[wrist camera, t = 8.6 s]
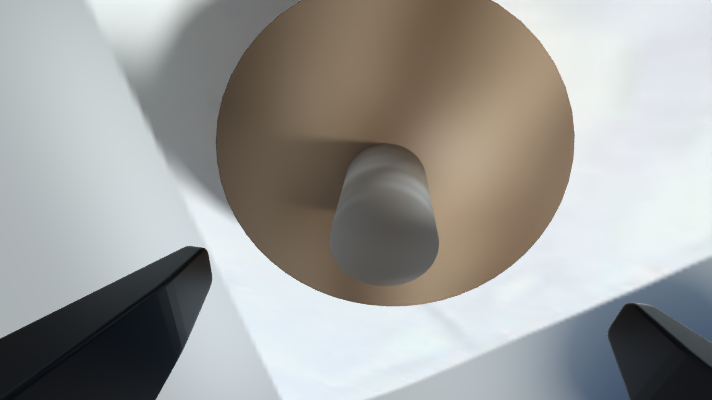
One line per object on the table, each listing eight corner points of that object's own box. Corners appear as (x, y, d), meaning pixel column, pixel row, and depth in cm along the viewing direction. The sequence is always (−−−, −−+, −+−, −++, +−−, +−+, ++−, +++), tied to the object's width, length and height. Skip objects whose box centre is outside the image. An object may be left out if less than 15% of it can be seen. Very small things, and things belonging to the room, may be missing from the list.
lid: (633, -3, 10) (803, -10, 6) (503, 309, 16) (540, 411, 12) (203, -41, 11) (80, -74, 6) (240, 275, 17) (190, 362, 13)
